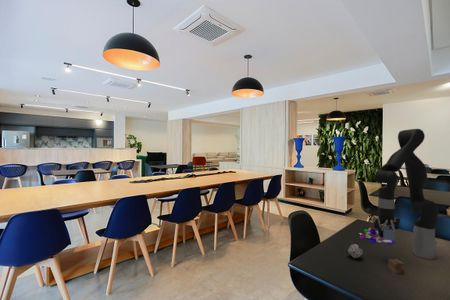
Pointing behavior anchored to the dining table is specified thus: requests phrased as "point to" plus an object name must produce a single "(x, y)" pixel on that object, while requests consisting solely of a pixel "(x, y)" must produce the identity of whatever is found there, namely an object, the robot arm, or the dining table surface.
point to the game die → (355, 251)
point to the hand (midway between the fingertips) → (386, 236)
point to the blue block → (388, 234)
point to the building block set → (373, 232)
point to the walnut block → (396, 265)
